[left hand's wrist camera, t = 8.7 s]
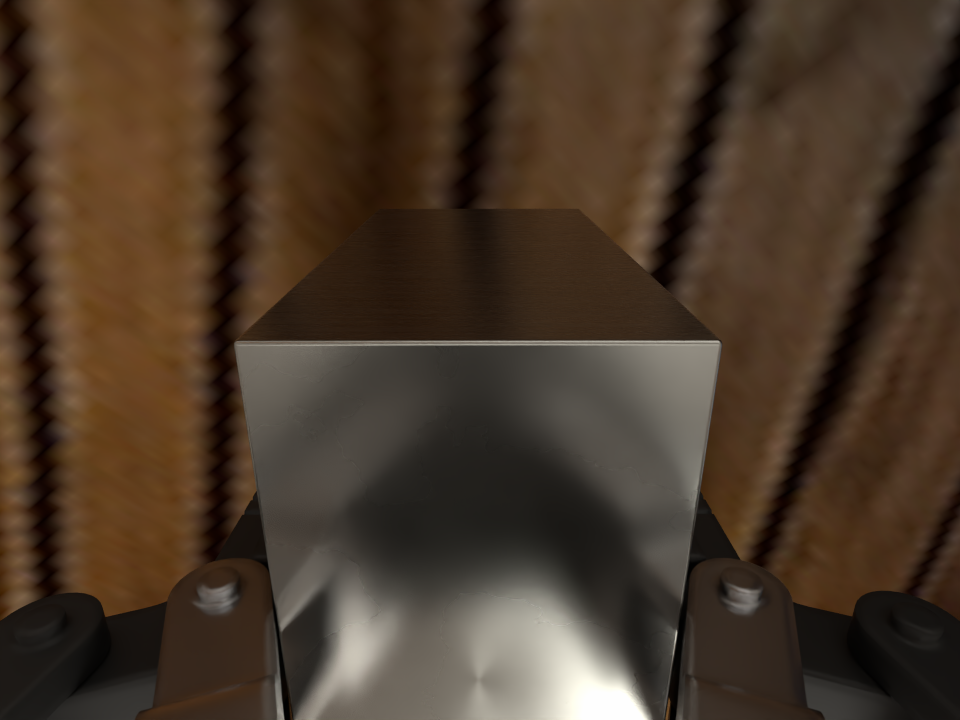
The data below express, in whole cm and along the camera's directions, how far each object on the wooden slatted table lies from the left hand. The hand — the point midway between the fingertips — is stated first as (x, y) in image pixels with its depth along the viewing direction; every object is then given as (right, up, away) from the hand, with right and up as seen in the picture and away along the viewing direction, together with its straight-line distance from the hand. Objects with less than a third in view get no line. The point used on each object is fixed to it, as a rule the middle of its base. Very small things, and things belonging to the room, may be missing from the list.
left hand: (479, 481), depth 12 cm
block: (0, +2, +5) cm, 5 cm away
